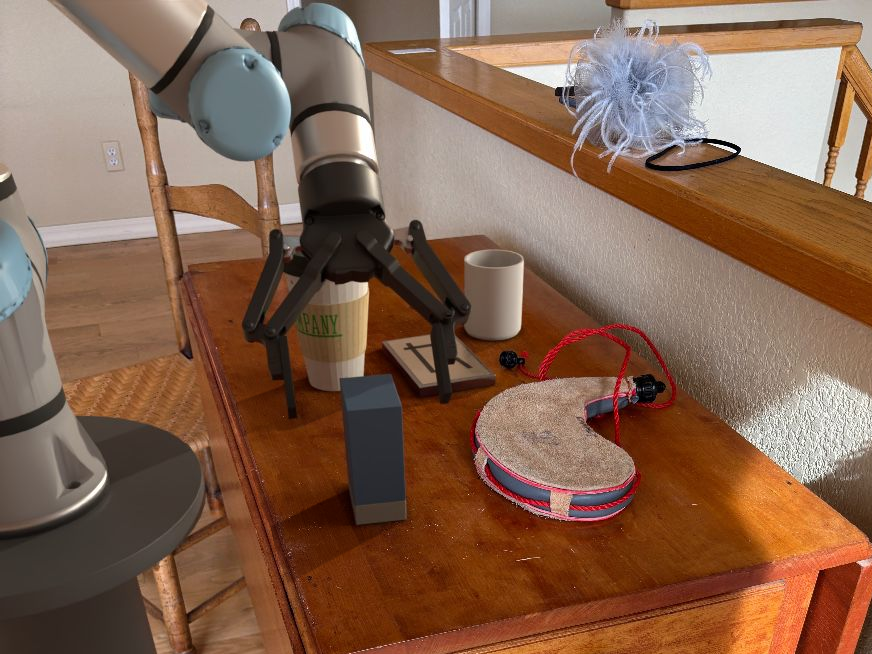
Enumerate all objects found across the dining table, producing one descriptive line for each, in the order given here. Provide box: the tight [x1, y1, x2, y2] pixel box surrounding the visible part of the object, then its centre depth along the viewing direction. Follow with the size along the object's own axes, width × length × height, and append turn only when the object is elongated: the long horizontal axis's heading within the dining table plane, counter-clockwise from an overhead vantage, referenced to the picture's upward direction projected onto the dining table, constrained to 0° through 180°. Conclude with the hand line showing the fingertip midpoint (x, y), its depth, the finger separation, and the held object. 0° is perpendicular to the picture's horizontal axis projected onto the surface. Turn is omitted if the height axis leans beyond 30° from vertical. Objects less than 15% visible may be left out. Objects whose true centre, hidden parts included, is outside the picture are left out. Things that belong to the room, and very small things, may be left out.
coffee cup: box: [283, 251, 370, 392], centre depth 101 cm, size 10×10×15 cm
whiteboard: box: [381, 333, 496, 398], centre depth 108 cm, size 9×14×1 cm, turn 21°
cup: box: [463, 249, 525, 341], centre depth 116 cm, size 7×10×9 cm
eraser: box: [340, 373, 407, 526], centre depth 81 cm, size 4×6×11 cm
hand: (370, 406), depth 82 cm, fingers open, 13 cm apart
